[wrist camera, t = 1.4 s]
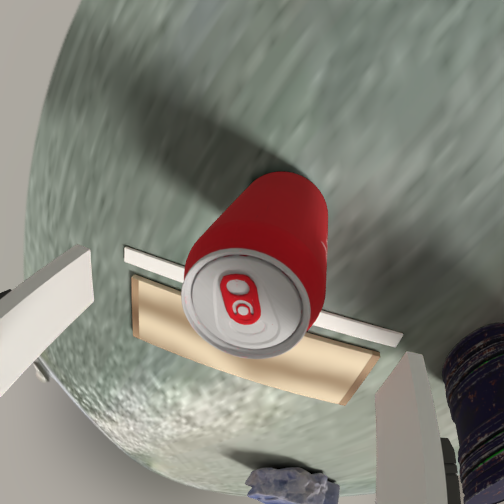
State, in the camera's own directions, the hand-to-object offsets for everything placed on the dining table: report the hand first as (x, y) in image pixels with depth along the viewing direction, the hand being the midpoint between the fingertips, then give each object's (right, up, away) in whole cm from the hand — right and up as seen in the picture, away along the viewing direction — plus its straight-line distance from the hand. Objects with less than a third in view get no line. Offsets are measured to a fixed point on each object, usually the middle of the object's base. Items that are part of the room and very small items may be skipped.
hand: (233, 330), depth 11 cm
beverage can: (+3, +6, +11) cm, 13 cm away
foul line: (+1, -1, +15) cm, 15 cm away
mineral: (+8, -33, +29) cm, 44 cm away
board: (0, -6, +18) cm, 19 cm away
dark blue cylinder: (+24, -8, +12) cm, 28 cm away
